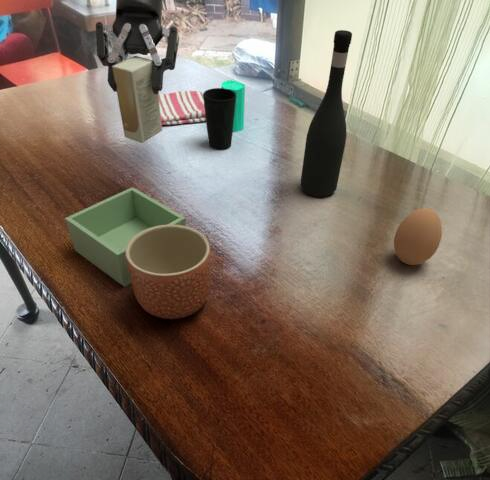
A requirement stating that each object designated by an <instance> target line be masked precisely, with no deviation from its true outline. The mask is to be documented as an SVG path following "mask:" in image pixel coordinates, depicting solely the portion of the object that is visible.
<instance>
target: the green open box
mask: <svg viewBox="0 0 490 480" xmlns="http://www.w3.org/2000/svg"><path fill="white" fill-rule="evenodd" d="M64 221H65V224H66V227H67V230H68V234H69V237H70V240H71V244H72V247H73V250H74V251H75V252H76V253H77V254H79V255H80V256H81V257H83V258H85V259H86V260H87V261H89V263H91V264H92V265H94V266H95V267H97V269H99V270H100V271H102V272H103V273H105V274H106V275H107V276H109V277H110V278H112V279H113V280H114V281H116V282H117V283H118V284H120V286H122V287H124V288H126V287H128V286H129V285H132V282H131V278H130V275H129V271H128V267H127V263H126V256H125V251H126V247H127V244H128V243H129V241H130V240H131V239H132V238H133V237H134V236H135V235H136V234H138V233H139V232H141V231H143V230H145V229H148V228H151V227H155V226H160V225H182V226H186V227H187V219H186V217H185V216H184V215H182V214H180V213H178V212H176V211H175V210H173V209H171V208H169V207H168V206H166V205H164V204H162V202H159V201H158V200H156V199H155V198H152V197H150V196H149V195H147V194H145V193H144V192H142V191H140V190H139V189H137V188H135V187H133V186H132V187H129V188H127V189H125V190H123V191H121V192H118V193H117V194H114V195H112V196H110V197H108V198H105V199H104V200H102V201H100V202H96V203H94V204H93V205H90V206H89V207H86V208H84V209H82V210H80V211H77V212H76V213H73V214H71V215H69V216H67V217H65V218H64Z"/></svg>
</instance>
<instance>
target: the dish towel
mask: <svg viewBox="0 0 490 480" xmlns="http://www.w3.org/2000/svg"><path fill="white" fill-rule="evenodd" d="M203 93H204V92H202V91H200V90H181V91H175V92H169V93H159V94H158V98H159V106H160V115H161V123H162V126H167V125H168V126H169V125H170V126H171V125H181V124H190V123H191V124H192V123H201V122H206V116H205V107H204V99H203Z"/></svg>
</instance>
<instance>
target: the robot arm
mask: <svg viewBox="0 0 490 480" xmlns="http://www.w3.org/2000/svg"><path fill="white" fill-rule="evenodd" d="M115 1H116V3H115V18H114V21H113V22H112V24H108V25H107V24H106V25H104V24H103V22H101V21H97V22H96V23H95V39H96V56H97V58H98V60H99V61H100V63H101V65H102V66H104V67H107V84H108V85H109V87H110V88H111V89H112V91H113V92H114V93H115V92H116V93H117V90H116V84H115V79H114V73H113V68H112V66H114V65H116V64H118V63H120V62H123V61H125V60H127V59H128V57H129V55H138V54H139V55H141V56H148V54H149V55H150V58H151V60H153V61H154V63H155V67H153V77H152V91H153V93H154V94H160V92H162V90H163V87H164V86H163V85H164V84H163V83H164V73H165V72H166V71H168V70H169V71H173V70H175V68H176V63H177V56H178V50H179V49H178V48H179V42H180V36H179V32H178V28H177V27H176V26H171V27H169V28H164V27H163V25H162V20H163V19H162V18H163V17H162V16H163V0H115ZM113 35H114V36H115V37H116V40H115V41H114V43H113V46H112V50H111V51H110V52H109V42H110V41H111V40H112V36H113ZM163 38H164V40H165V43H166V44H167V45H166V51H165V57H164V58H161V57H160V55H159V52H158V50H157V48H156V47H157V46H158V44H159V43H160V42H161V41H162V39H163Z"/></svg>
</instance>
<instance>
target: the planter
mask: <svg viewBox="0 0 490 480" xmlns="http://www.w3.org/2000/svg"><path fill="white" fill-rule="evenodd" d="M125 256H126V263H127V267H128V271H129V275H130V278H131V282H132V283H131V285H132V289H133V293H134V296H135V299H136V300H137V302H138V304H139V305H140V307H141V308H142V309H143V310H144V311H145V312H147V313H148V314H150V315H151V316H154V317H156V318H159V319H164V320H177V319H178V320H179V319H183V318H186V317H189V316H191V315H193V314H195V313H197V312H198V311H199V310H200V309H201V308H202V307H203V306H204V305H205V303H206V301H207V299H208V297H209V294H210V289H211V268H212V267H211V266H212V264H211V262H212V252H211V245H210V242H209V240H208V239H207V237H206V236H205V235H204V234H203V233H202V232H200V231H199V230H197V229H195V228H193V227H189V226H187V225H186V226H182V225H160V226H155V227H151V228H148V229H145V230H143V231H141V232H139V233H138V234H136V235H135V236H134V237H133V238H132V239H131V240H130V241H129V243H128V244H127V247H126V251H125Z"/></svg>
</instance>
